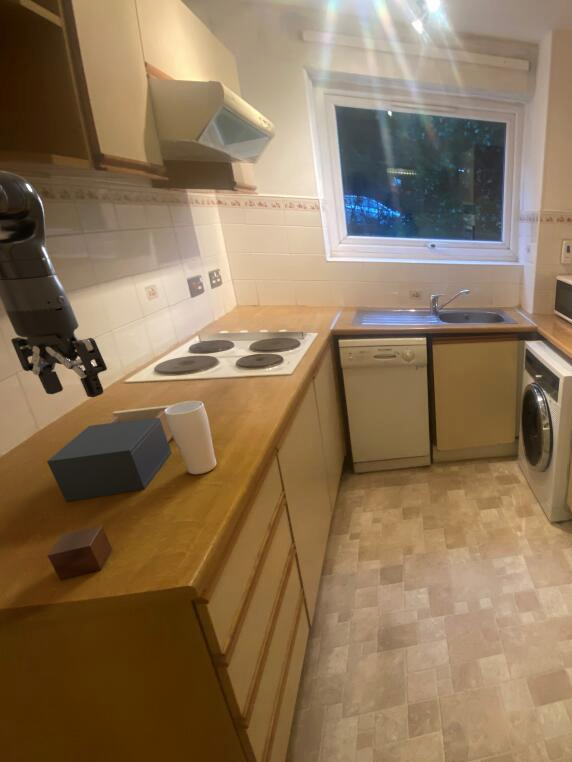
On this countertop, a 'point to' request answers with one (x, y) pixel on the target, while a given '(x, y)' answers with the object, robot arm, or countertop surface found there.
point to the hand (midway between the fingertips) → (75, 394)
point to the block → (80, 552)
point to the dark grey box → (110, 459)
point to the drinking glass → (192, 435)
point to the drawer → (143, 416)
